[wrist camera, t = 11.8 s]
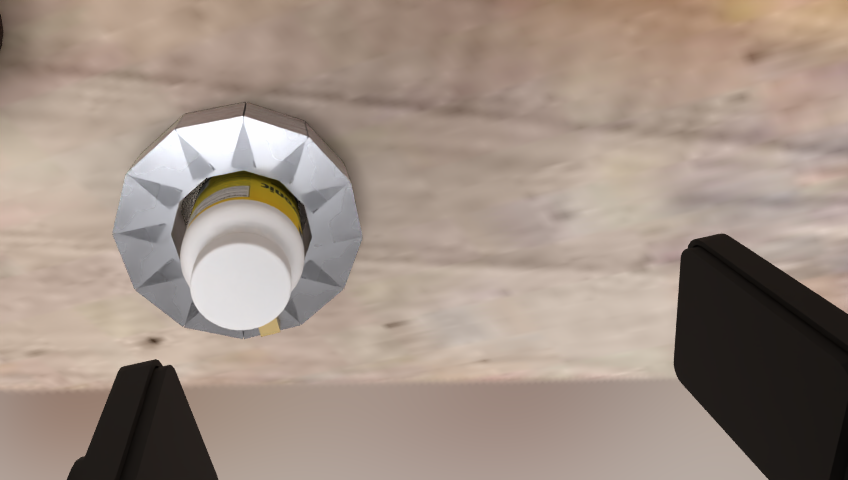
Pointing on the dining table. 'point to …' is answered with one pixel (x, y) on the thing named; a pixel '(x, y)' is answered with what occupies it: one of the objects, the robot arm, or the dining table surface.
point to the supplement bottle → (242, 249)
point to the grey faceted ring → (221, 154)
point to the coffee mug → (1, 32)
